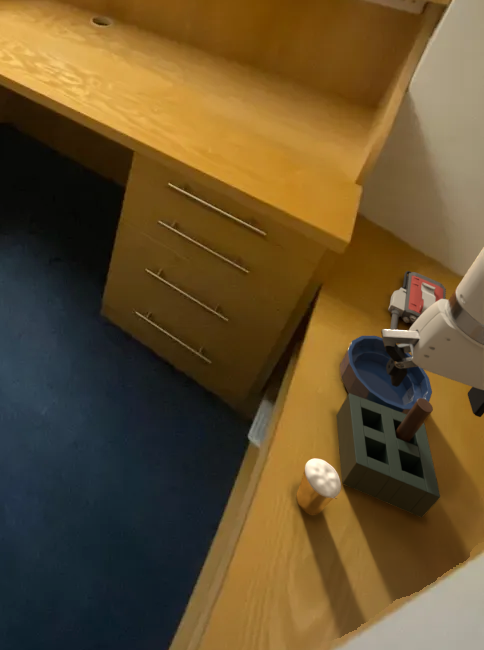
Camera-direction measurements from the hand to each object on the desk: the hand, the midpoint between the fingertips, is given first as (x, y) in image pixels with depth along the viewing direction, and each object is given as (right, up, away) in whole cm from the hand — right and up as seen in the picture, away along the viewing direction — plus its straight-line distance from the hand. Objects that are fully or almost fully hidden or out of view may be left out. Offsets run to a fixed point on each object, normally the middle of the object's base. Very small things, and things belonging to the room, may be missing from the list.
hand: (432, 390), depth 72 cm
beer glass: (-16, -20, +4) cm, 25 cm away
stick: (0, -16, +9) cm, 19 cm away
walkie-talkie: (+20, -5, +29) cm, 36 cm away
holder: (-2, -17, +8) cm, 19 cm away
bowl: (+4, -11, +18) cm, 22 cm away
